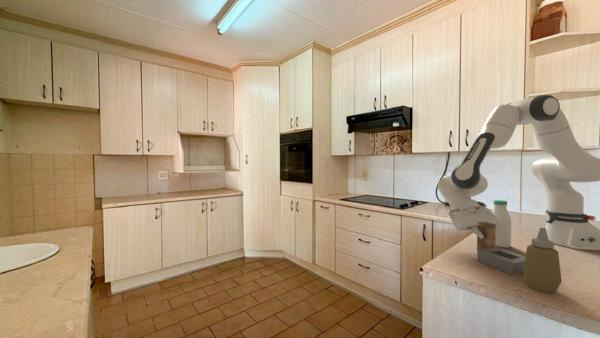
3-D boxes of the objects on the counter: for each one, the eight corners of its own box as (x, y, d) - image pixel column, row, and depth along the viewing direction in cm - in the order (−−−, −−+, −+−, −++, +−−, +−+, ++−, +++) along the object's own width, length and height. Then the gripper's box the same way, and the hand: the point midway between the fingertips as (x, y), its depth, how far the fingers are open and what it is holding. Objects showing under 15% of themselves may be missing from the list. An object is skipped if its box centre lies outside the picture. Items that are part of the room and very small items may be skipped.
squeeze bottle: (566, 299, 65) (568, 233, 65) (526, 290, 70) (528, 229, 69) (555, 286, 72) (557, 226, 71) (519, 279, 76) (520, 223, 76)
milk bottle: (511, 249, 101) (512, 202, 101) (488, 245, 106) (489, 200, 105) (510, 244, 108) (511, 200, 107) (488, 241, 112) (489, 198, 111)
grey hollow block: (477, 260, 91) (477, 250, 90) (496, 257, 93) (497, 247, 93) (513, 275, 79) (513, 263, 79) (534, 271, 82) (534, 259, 82)
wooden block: (476, 250, 99) (477, 221, 98) (482, 250, 99) (482, 221, 99) (489, 255, 94) (489, 225, 93) (495, 254, 95) (495, 224, 94)
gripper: (450, 205, 100) (473, 236, 91) (487, 202, 105) (512, 231, 96) (441, 214, 104) (462, 243, 95) (477, 210, 110) (500, 238, 101)
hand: (487, 237), depth 96 cm, fingers closed on wooden block, 3 cm apart
